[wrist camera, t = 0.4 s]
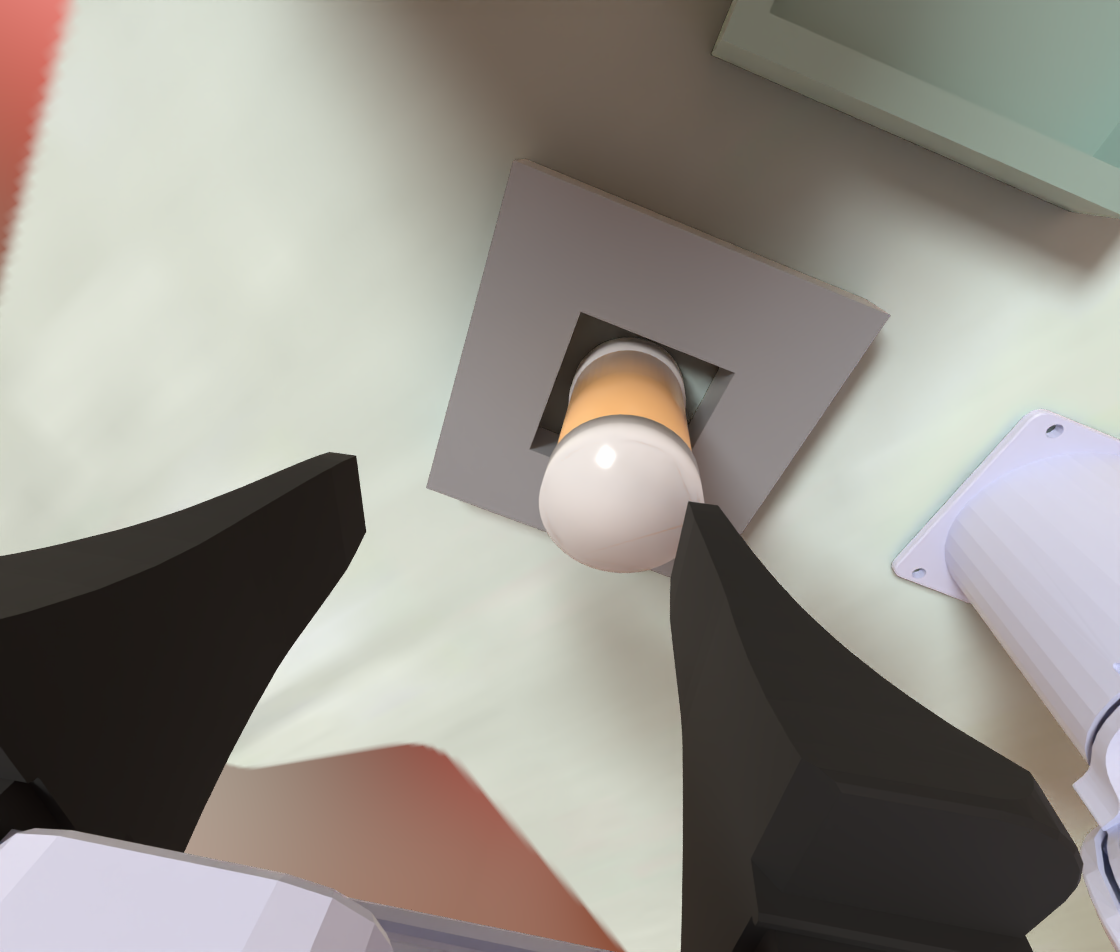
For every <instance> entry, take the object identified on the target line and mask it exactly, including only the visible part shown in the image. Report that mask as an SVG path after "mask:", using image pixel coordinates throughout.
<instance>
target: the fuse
mask: <svg viewBox="0 0 1120 952" xmlns="http://www.w3.org/2000/svg"><path fill="white" fill-rule="evenodd" d="M685 407H686V395H685V389H684V383H683V378H682V374H681V371H680V369H679V367H678V365H677V363H676V362H675V360H674V359H673V358H672V356H671V355H670V354H669V353H668V352H667V351H665V350H664V349H663V348H662V347H660V346H659V345H657V344H655V343H653V342H651V341H648V340H645V339H641V338H634V337H623V338H617V339H612V340H609V341H606V342H604V343H602V344H600V345H598V346H597V347H595V348H594V349H592V350H591V351H590V352H589V353H588V354H587V355H586V356H585V357H584V358H583V359H582V361H581V363H580V364H579V366H578V368H577V370H576V372H575V375H574V378H573V382H572V385H571V388H570V393H569V405H568V409H567V412H566V416H565V419H564V422H563V426H562V429H561V433H560V436H559V440H558V443H557V446H556V447H555V449H554V450H553V452H552V454H551V456H550V459H549V462H548V465H547V468H546V471H545V475H544V478H543V481H542V485H541V488H540V494H539V510H540V516H541V519H542V522H543V525H544V527H545V529H546V531H547V533H548V534H549V536H550V537H551V539H552V540H553V541H554V543H555V544H556V545H557V546H558V547H559V548H560V549H561V550H562V551H563V552H565V553H566V554H567V555H569V556H570V557H571V558H573V559H575V560H576V561H578V562H580V563H582V564H584V565H587V566H589V567H592V568H595V569H598V570H603V571H608V572H616V573H632V572H640V571H645V570H650V569H653V568H656V567H659V566H661V565H663V564H665V563H667V562H669V561H671V560H672V559H674V558H675V556H676V552H677V548H678V543H679V539H680V535H681V530H682V526H683V522H684V517H685V513H686V509H687V505H688V501H690V502H698V503H704V496H703V490H702V485H701V479H700V473H699V468H698V465H697V462H696V459H695V457H694V455H693V453H692V449H691V443H690V437H689V431H688V425H687V419H686V413H685Z"/></svg>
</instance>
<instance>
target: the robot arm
mask: <svg viewBox="0 0 1120 952" xmlns="http://www.w3.org/2000/svg"><path fill="white" fill-rule="evenodd" d="M1053 425H1056V427H1055V429H1054V430H1052V431H1051V432H1049V433H1046V431H1047V429H1048V428H1049V427H1051V426H1053ZM365 533H366V527H365V519H364V512H363V504H362V496H361V489H360V481H359V474H358V466H357V458H356V456H354V455H347V454H340V453H332V452H328V453H325V454H322V455H319V456H316V457H313V458H311V459H308V460H305V461H303V462H300V463H298V464H296V465H293V466H291V467H288V468H286V469H284V470H281V471H279V472H277V473H274V474H272V475H270V476H267V477H265V478H262V479H260V480H258V481H255V482H253V483H251V484H248V485H246V486H243V487H241V488H239V489H236V490H233V491H231V492H228V493H226V494H223V495H220V496H218V497H215V498H213V499H210V500H208V501H205V502H202V503H200V504H197V505H195V506H192V507H189V508H186V509H184V510H181V511H178V512H175V513H172V514H169V515H166V516H163V517H160V518H157V519H153V520H150V521H147V522H143V523H140V524H137V525H134V526H130V527H127V528H123V529H120V530H116V531H112V532H108V533H104V534H100V535H96V536H92V537H88V538H84V539H80V540H75V541H71V542H67V543H63V544H59V545H55V546H50V547H46V548H41V549H36V550H31V551H26V552H21V553H16V554H10V555H5V556H0V952H612V951H607V950H603V949H597V948H593V947H588V946H583V945H578V944H573V943H568V942H563V941H559V940H554V939H549V938H544V937H539V936H534V935H529V934H524V933H519V932H515V931H509V930H505V929H500V928H495V927H490V926H485V925H480V924H475V923H470V922H465V921H461V920H455V919H451V918H446V917H441V916H436V915H431V914H426V913H421V912H416V911H412V910H407V909H402V908H397V907H392V906H387V905H382V904H377V903H372V902H367V901H362V900H358V899H353V898H348V897H346V896H344V895H343V894H341V893H340V892H338V891H336V890H334V889H332V888H329V887H326V886H323V885H320V884H317V883H314V882H311V881H307V880H304V879H301V878H298V877H295V876H292V875H289V874H286V873H281V872H275V871H271V870H266V869H261V868H256V867H250V866H246V865H241V864H236V863H231V862H226V861H221V860H216V859H211V858H207V857H201V856H196V855H192V854H186V853H184V851H185V849H186V847H187V845H188V842H189V840H190V838H191V836H192V834H193V831H194V829H195V826H196V825H197V822H198V820H199V818H200V816H201V813H202V811H203V809H204V807H205V805H206V803H207V801H208V799H209V797H210V795H211V792H212V791H213V789H214V786H215V784H216V782H217V780H218V778H219V776H220V774H221V772H222V770H223V768H224V766H225V764H226V762H227V760H228V758H229V756H230V754H231V752H232V750H233V748H234V746H235V744H236V743H237V741H238V739H239V737H240V735H241V733H242V731H243V729H244V727H245V726H246V724H247V722H248V720H249V718H250V716H251V714H252V712H253V710H254V709H255V707H256V705H257V703H258V702H259V700H260V698H261V696H262V695H263V693H264V691H265V689H266V687H267V686H268V684H269V682H270V680H271V679H272V677H273V675H274V673H275V672H276V670H277V668H278V667H279V665H280V664H281V662H282V660H283V659H284V657H285V656H286V654H287V653H288V651H289V650H290V648H291V647H292V646H293V644H294V643H295V641H296V640H297V639H298V637H299V636H300V634H301V633H302V632H303V630H304V629H305V627H306V626H307V625H308V623H309V622H310V621H311V619H312V618H313V616H314V615H315V614H316V612H317V611H318V609H319V608H320V607H321V605H322V604H323V603H324V601H325V600H326V598H327V597H328V596H329V594H330V593H331V591H332V590H333V588H334V587H335V586H336V584H337V583H338V581H339V580H340V578H341V577H342V576H343V574H344V573H345V571H346V570H347V568H348V566H349V564H350V563H351V561H352V559H353V557H354V555H355V553H356V551H357V549H358V547H359V545H360V543H361V541H362V539H363V537H364V535H365ZM892 568H893V570H894V572H895V574H896V575H897V576H899V577H901V578H904V579H907V580H909V581H912V582H914V583H917V584H920V585H922V586H925V587H928V588H930V589H933V590H936V591H938V592H941V593H944V594H946V595H949V596H952V597H954V598H957V599H959V600H962V601H965V602H967V603H970V604H972V605H973V607H974V608H975V609H976V611H977V612H978V613H979V615H980V616H981V618H982V619H983V620H984V622H985V623H986V624H987V626H988V627H989V629H990V630H991V631H992V633H993V634H994V636H995V637H996V638H997V640H998V641H999V642H1000V644H1001V645H1002V647H1003V648H1004V649H1005V651H1006V652H1007V653H1008V655H1009V656H1010V658H1011V659H1012V660H1013V662H1014V663H1015V664H1016V666H1017V667H1018V669H1019V670H1020V671H1021V673H1022V674H1023V675H1024V677H1025V678H1026V680H1027V681H1028V682H1029V684H1030V685H1031V687H1032V688H1033V689H1034V691H1035V692H1036V693H1037V695H1038V696H1039V698H1040V699H1041V700H1042V702H1043V703H1044V704H1045V706H1046V707H1047V709H1048V710H1049V711H1050V713H1051V714H1052V715H1053V717H1054V718H1055V720H1056V721H1057V722H1058V724H1059V725H1060V726H1061V728H1062V729H1063V731H1064V732H1065V733H1066V735H1067V736H1068V737H1069V739H1070V740H1071V742H1072V743H1073V744H1074V746H1075V747H1076V749H1077V750H1078V751H1079V753H1080V754H1081V755H1082V757H1083V758H1084V760H1085V761H1086V762H1087V764H1088V765H1089V768H1088V770H1087V771H1086V772H1085V774H1084V775H1083V776H1082V777H1081V778H1079V779H1078V780H1077V781H1076V782H1074V783H1073V788H1074V789H1075V791H1076V792H1077V794H1078V795H1079V797H1080V798H1081V800H1082V801H1083V803H1084V804H1085V806H1086V807H1087V808H1088V810H1089V811H1090V813H1091V814H1092V816H1093V817H1094V819H1095V820H1096V822H1097V823H1098V825H1099V826H1097V827H1095V828H1094V829H1092V830H1091V831H1090V832H1089V833H1088V834H1087V835H1086V836H1085V837H1084V840H1083V842H1082V845H1081V848H1080V853H1079V851H1078V848H1077V846H1076V845H1075V843H1074V841H1073V840H1072V838H1071V837H1070V835H1069V833H1068V832H1067V830H1066V829H1065V827H1064V825H1063V824H1062V822H1061V820H1060V819H1059V817H1058V816H1057V814H1056V812H1055V811H1054V809H1053V808H1052V806H1051V804H1050V803H1049V801H1048V799H1047V798H1046V796H1045V795H1044V793H1043V791H1042V790H1041V788H1040V787H1039V785H1038V783H1037V782H1036V781H1035V779H1034V778H1033V776H1032V775H1031V773H1030V772H1029V771H1027V770H1025V769H1024V768H1022V767H1020V766H1019V765H1017V764H1015V763H1014V762H1012V761H1010V760H1009V759H1007V758H1005V757H1004V756H1002V755H1000V754H999V753H997V752H995V751H994V750H992V749H990V748H989V747H987V746H985V745H984V744H982V743H980V742H979V741H977V740H975V739H974V738H972V737H970V736H969V735H967V734H965V733H964V732H962V731H960V730H959V729H957V728H955V727H954V726H952V725H951V724H949V723H948V722H946V721H945V720H943V719H942V718H940V717H939V716H937V715H936V714H934V713H933V712H931V711H930V710H928V709H927V708H925V707H924V706H922V705H921V704H919V703H918V702H916V701H915V700H914V699H912V698H911V697H909V696H908V695H906V694H905V693H904V692H902V691H901V690H899V689H898V688H897V687H895V686H894V685H893V684H891V683H890V682H888V681H887V680H886V679H884V678H883V677H882V676H880V675H879V674H878V673H877V672H875V671H874V670H873V669H872V668H870V667H869V666H868V665H866V664H865V663H864V662H863V661H861V660H860V659H859V658H858V657H856V656H855V655H854V654H853V653H851V652H850V651H849V650H848V649H847V648H845V647H844V646H843V645H842V644H841V643H839V642H838V641H837V640H836V639H835V638H834V637H833V636H832V635H830V634H829V633H828V632H827V631H826V630H825V629H824V628H823V627H822V626H821V625H820V624H819V623H817V622H816V621H815V620H814V619H813V618H812V617H811V616H810V615H809V614H808V613H807V612H806V611H805V610H804V609H803V608H802V607H801V606H800V605H799V604H798V603H797V602H796V601H795V600H794V599H793V598H792V597H791V596H790V595H789V593H788V592H787V591H786V590H785V589H784V588H783V587H782V586H781V585H780V584H779V583H778V582H777V580H776V579H775V578H774V577H773V576H772V575H771V573H770V572H769V571H768V570H767V569H766V568H765V566H764V565H763V564H762V563H761V562H760V560H759V559H758V558H757V557H756V555H755V554H754V553H753V552H752V550H751V549H750V548H749V546H748V545H747V544H746V542H745V541H744V540H743V538H742V537H741V536H740V534H739V533H738V532H737V530H736V529H735V528H734V526H733V525H732V523H731V522H730V521H729V519H728V518H727V517H726V515H725V514H724V513H723V511H722V510H721V509H720V507H719V506H718V505H712V504H705V503H698V502H690V501H688V505H687V509H686V513H685V517H684V522H683V526H682V530H681V535H680V539H679V543H678V548H677V552H676V556H675V560H674V565H673V569H672V573H671V586H670V623H671V632H672V641H673V651H674V659H675V668H676V677H677V685H678V694H679V703H680V711H681V724H682V743H683V877H682V928H681V952H1033V951H1032V948H1031V946H1030V944H1029V942H1028V940H1027V938H1026V936H1025V935H1026V934H1027V933H1028V932H1030V931H1031V930H1032V929H1033V928H1034V927H1035V926H1037V925H1038V924H1039V923H1040V922H1041V921H1043V920H1044V919H1045V918H1046V917H1047V916H1048V915H1050V914H1051V913H1052V912H1053V911H1054V910H1055V909H1057V908H1058V907H1059V906H1060V905H1061V904H1063V903H1064V902H1065V901H1066V900H1067V898H1068V897H1069V896H1070V895H1071V894H1072V892H1073V891H1074V890H1075V889H1076V888H1077V886H1078V884H1079V882H1080V879H1081V874H1082V873H1083V878H1084V881H1085V884H1086V887H1087V889H1088V892H1089V895H1090V898H1091V900H1092V903H1093V905H1094V907H1095V910H1096V912H1097V915H1098V917H1099V920H1100V922H1101V924H1102V926H1103V928H1104V930H1105V932H1106V934H1107V936H1108V938H1109V940H1110V941H1111V943H1112V945H1113V947H1114V948H1115V950H1116V952H1120V439H1117V438H1115V437H1112V436H1110V435H1108V434H1105V433H1103V432H1100V431H1098V430H1095V429H1093V428H1090V427H1088V426H1085V425H1083V424H1081V423H1078V422H1076V421H1073V420H1071V419H1068V418H1066V417H1063V416H1061V415H1059V414H1056V413H1054V412H1051V411H1049V410H1045V409H1036V410H1033V411H1031V412H1029V413H1027V414H1026V415H1025V416H1024V417H1023V418H1022V419H1021V420H1020V421H1019V422H1018V423H1017V424H1016V425H1015V426H1014V428H1013V429H1012V430H1011V431H1010V432H1009V433H1008V434H1007V435H1006V436H1005V438H1004V439H1003V440H1002V441H1001V442H1000V443H999V444H998V445H997V446H996V447H995V449H994V450H993V451H992V452H991V453H990V454H989V455H988V456H987V457H986V459H985V460H984V461H983V462H982V463H981V464H980V465H979V466H978V467H977V468H976V470H975V471H974V472H973V473H972V474H971V475H970V476H969V477H968V478H967V480H966V481H965V482H964V483H963V484H962V485H961V486H960V487H959V488H958V489H957V491H956V492H955V493H954V494H953V495H952V496H951V497H950V498H949V499H948V501H947V502H946V503H945V504H944V505H943V506H942V507H941V508H940V509H939V510H938V512H937V513H936V514H935V515H934V516H933V517H932V518H931V519H930V520H929V522H928V523H927V524H926V525H925V526H924V527H923V528H922V529H921V530H920V531H919V533H918V534H917V535H916V536H915V537H914V538H913V539H912V540H911V541H910V543H909V544H908V545H907V546H906V547H905V548H904V549H903V550H902V551H901V552H900V554H899V555H898V556H897V557H896V558H895V559H894V560H893V562H892ZM919 568H921V569H920V570H919V571H917V572H913V571H914V570H916V569H919Z"/></svg>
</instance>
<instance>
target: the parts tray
mask: <svg viewBox="0 0 1120 952" xmlns="http://www.w3.org/2000/svg"><path fill="white" fill-rule="evenodd" d="M711 55H713V56H715V57H717V58H720V59H722V60H724V61H727V62H729V63H731V64H733V65H736V66H738V67H740V68H743V69H745V70H747V71H749V72H752V73H754V74H756V75H759V76H761V77H763V78H765V79H768V80H770V81H772V82H775V83H777V84H779V85H781V86H784V87H786V88H788V89H791V90H793V91H795V92H797V93H800V94H802V95H804V96H807V97H809V98H811V99H814V100H816V101H818V102H820V103H823V104H825V105H827V106H830V107H832V108H834V109H836V110H839V111H841V112H843V113H846V114H848V115H850V116H852V117H855V118H857V119H859V120H862V121H864V122H866V123H868V124H871V125H873V126H875V127H878V128H880V129H882V130H884V131H887V132H889V133H891V134H894V135H896V136H898V137H900V138H903V139H905V140H907V141H910V142H912V143H914V144H916V145H919V146H921V147H923V148H926V149H928V150H930V151H933V152H935V153H937V154H939V155H942V156H944V157H946V158H949V159H951V160H953V161H955V162H958V163H960V164H962V165H965V166H967V167H969V168H971V169H974V170H976V171H978V172H981V173H983V174H985V175H987V176H990V177H992V178H994V179H997V180H999V181H1001V182H1003V183H1006V184H1008V185H1010V186H1013V187H1015V188H1017V189H1019V190H1022V191H1024V192H1026V193H1029V194H1031V195H1033V196H1036V197H1038V198H1040V199H1042V200H1045V201H1047V202H1049V203H1052V204H1054V205H1056V206H1058V207H1061V208H1063V209H1065V210H1068V211H1070V212H1075V213H1082V214H1089V215H1096V216H1103V217H1110V218H1117V219H1120V0H733V1H732V3H731V6H730V8H729V11H728V13H727V16H726V18H725V21H724V23H723V26H722V28H721V31H720V33H719V36H718V38H717V41H716V43H715V46H714V48H713V51H712V53H711Z"/></svg>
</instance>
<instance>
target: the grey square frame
mask: <svg viewBox="0 0 1120 952" xmlns="http://www.w3.org/2000/svg"><path fill="white" fill-rule="evenodd" d="M581 312H582V313H585V314H587V315H590V316H592V317H595V318H597V319H600V320H603V321H605V322H608V323H610V324H613V325H615V326H618V327H620V328H623V329H625V330H628V331H630V332H633V333H635V334H638V335H640V336H643V337H645V338H648V339H650V340H653V341H656V342H658V343H661V344H663V345H666V346H668V347H671V348H673V349H676V350H678V351H681V352H683V353H686V354H688V355H691V356H693V357H696V358H698V359H701V360H703V361H706V362H709V363H711V364H714V365H716V366H719V367H720V368H719V370H718V371H717V373H716V375H715V377H714V379H713V381H712V383H711V384H710V386H709V388H708V390H707V392H706V394H705V395H704V397H703V399H702V401H701V403H700V405H699V407H698V408H697V410H696V412H695V414H694V416H693V418H692V420H691V421H690V423H689V425H688V431H689V437H690V443H691V449H692V453H693V455H694V457H695V459H696V462H697V465H698V468H699V473H700V479H701V485H702V490H703V496H704V503H705V504H712V505H718V506H719V507H720V509H721V510H722V511H723V513H724V514H725V515H726V517H727V518H728V519H729V521H730V522H731V523H732V525H733V526H734V528H735V529H736V530H737V532H738V533H739V534H740V535H741V534H742V532H743V531H744V529H745V528H746V526H747V525H748V523H749V522H750V521H751V519H752V518H753V516H754V515H755V513H756V512H757V510H758V509H759V507H760V506H761V504H762V503H763V501H764V500H765V499H766V497H767V496H768V494H769V493H770V491H771V490H772V488H773V487H774V485H775V484H776V482H777V481H778V479H779V478H780V477H781V475H782V474H783V472H784V471H785V469H786V468H787V466H788V465H789V463H790V462H791V460H792V459H793V457H794V456H795V455H796V453H797V452H798V450H799V449H800V447H801V446H802V444H803V443H804V441H805V440H806V438H807V437H808V435H809V434H810V433H811V431H812V430H813V428H814V427H815V425H816V424H817V422H818V421H819V419H820V418H821V416H822V415H823V413H824V412H825V411H826V409H827V408H828V406H829V405H830V403H831V402H832V400H833V399H834V397H835V396H836V394H837V393H838V391H839V390H840V389H841V387H842V386H843V384H844V383H845V381H846V380H847V378H848V377H849V375H850V374H851V372H852V371H853V369H854V368H855V367H856V365H857V364H858V362H859V361H860V359H861V358H862V356H863V355H864V353H865V352H866V350H867V349H868V347H869V346H870V345H871V343H872V342H873V340H874V339H875V337H876V336H877V334H878V333H879V331H880V330H881V328H882V327H883V325H884V324H885V322H886V321H887V320H888V318H889V317H890V315H889V314H888V313H886V312H885V311H883V310H882V309H880V308H879V307H877V306H876V305H874V304H873V303H871V302H870V301H868V300H867V299H864V298H862V297H859V296H857V295H854V294H852V293H850V292H847V291H845V290H842V289H840V288H838V287H835V286H833V285H830V284H828V283H825V282H823V281H821V280H818V279H816V278H813V277H811V276H808V275H806V274H804V273H801V272H799V271H796V270H794V269H792V268H789V267H787V266H784V265H782V264H779V263H777V262H775V261H772V260H770V259H767V258H765V257H762V256H760V255H758V254H755V253H753V252H750V251H748V250H746V249H743V248H741V247H738V246H736V245H733V244H731V243H729V242H726V241H724V240H721V239H719V238H716V237H714V236H712V235H709V234H707V233H704V232H702V231H700V230H697V229H695V228H692V227H690V226H687V225H685V224H683V223H680V222H678V221H675V220H673V219H671V218H668V217H666V216H663V215H661V214H658V213H656V212H654V211H651V210H649V209H646V208H644V207H641V206H639V205H637V204H634V203H632V202H629V201H627V200H625V199H622V198H620V197H617V196H615V195H612V194H610V193H608V192H605V191H603V190H600V189H598V188H595V187H593V186H591V185H588V184H586V183H583V182H581V181H579V180H576V179H574V178H571V177H569V176H566V175H564V174H562V173H559V172H557V171H554V170H552V169H549V168H547V167H545V166H542V165H540V164H537V163H535V162H533V161H530V160H528V159H517V160H513V163H512V167H511V171H510V175H509V178H508V182H507V186H506V190H505V193H504V197H503V201H502V205H501V208H500V212H499V216H498V220H497V224H496V227H495V231H494V235H493V239H492V242H491V246H490V250H489V254H488V257H487V261H486V265H485V269H484V272H483V276H482V280H481V284H480V287H479V291H478V295H477V299H476V302H475V306H474V310H473V314H472V317H471V321H470V325H469V329H468V333H467V336H466V340H465V344H464V348H463V351H462V355H461V359H460V363H459V366H458V370H457V374H456V378H455V381H454V385H453V389H452V393H451V396H450V400H449V404H448V408H447V411H446V415H445V419H444V423H443V426H442V430H441V434H440V438H439V442H438V445H437V449H436V453H435V457H434V460H433V464H432V468H431V472H430V475H429V479H428V483H427V487H426V488H428V489H430V490H433V491H436V492H439V493H441V494H444V495H447V496H450V497H452V498H455V499H458V500H461V501H463V502H466V503H469V504H471V505H474V506H477V507H480V508H482V509H485V510H488V511H491V512H493V513H496V514H499V515H501V516H504V517H507V518H510V519H512V520H515V521H518V522H521V523H523V524H526V525H529V526H532V527H534V528H537V529H540V530H542V531H545V532H547V531H546V529H545V527H544V525H543V522H542V519H541V516H540V510H539V494H540V488H541V485H542V481H543V478H544V475H545V471H546V468H547V465H548V462H549V459H550V456H551V454H552V452H553V450H554V449H555V447H556V446H557V443H558V440H559V436H560V435H559V434H557V433H554V432H552V431H549V430H546V429H544V428H541V427H538V425H539V423H540V420H541V417H542V415H543V412H544V409H545V407H546V404H547V401H548V399H549V396H550V393H551V391H552V388H553V385H554V383H555V380H556V377H557V375H558V372H559V369H560V366H561V364H562V361H563V358H564V356H565V353H566V350H567V348H568V345H569V342H570V340H571V337H572V334H573V332H574V329H575V326H576V324H577V321H578V318H579V316H580V313H581ZM674 560H675V558H674V559H672V560H671V561H669V562H667V563H665V564H663V565H661V566H659V567H656V568H653V569H650V570H652V571H654V572H657V573H660V574H663V575H665V576H668V577H671V573H672V569H673V565H674Z"/></svg>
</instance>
